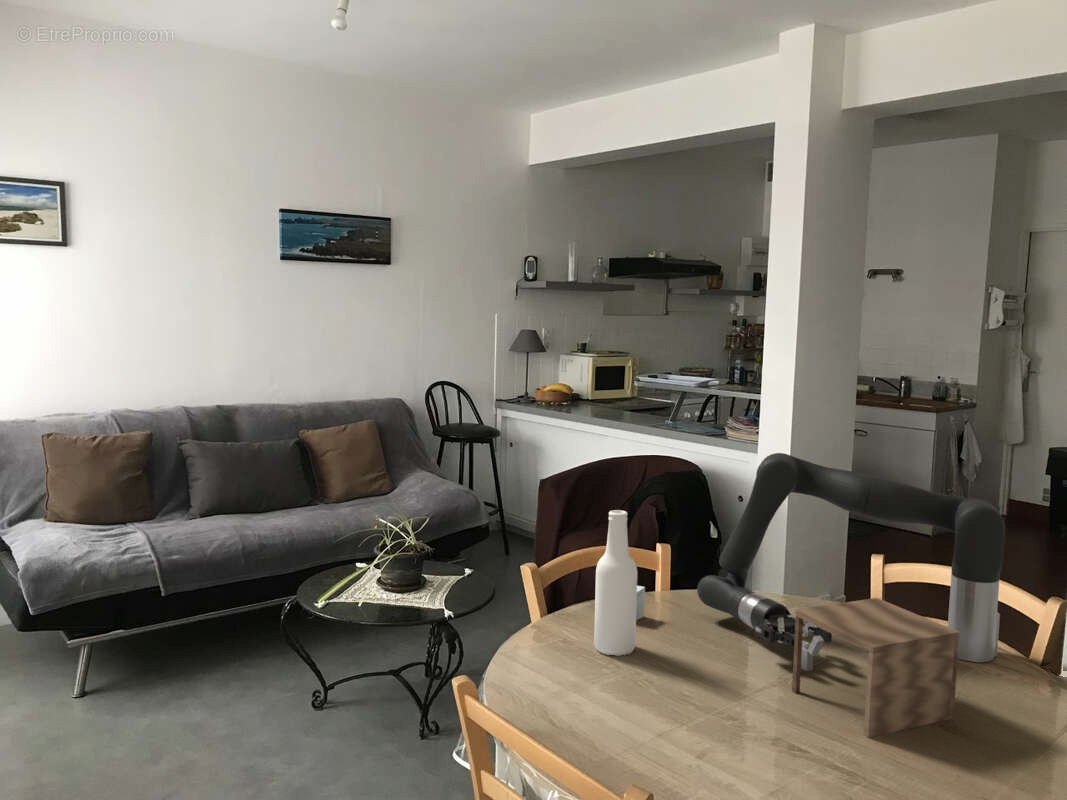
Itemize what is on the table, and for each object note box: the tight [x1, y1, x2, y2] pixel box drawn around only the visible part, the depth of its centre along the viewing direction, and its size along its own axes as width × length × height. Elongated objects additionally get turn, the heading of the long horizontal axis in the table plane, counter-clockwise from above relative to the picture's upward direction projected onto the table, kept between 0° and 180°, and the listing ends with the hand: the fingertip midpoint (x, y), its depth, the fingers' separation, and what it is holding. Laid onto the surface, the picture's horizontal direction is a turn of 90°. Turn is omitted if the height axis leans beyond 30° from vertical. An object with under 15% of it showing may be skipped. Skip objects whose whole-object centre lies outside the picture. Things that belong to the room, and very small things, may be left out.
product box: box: [636, 585, 646, 621], centre depth 212 cm, size 6×6×7 cm
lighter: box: [801, 636, 825, 672], centre depth 184 cm, size 7×2×8 cm, turn 21°
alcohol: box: [593, 509, 638, 657], centre depth 192 cm, size 9×9×30 cm
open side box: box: [791, 597, 959, 738], centre depth 168 cm, size 20×20×16 cm
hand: (813, 640), depth 182 cm, fingers open, 8 cm apart
